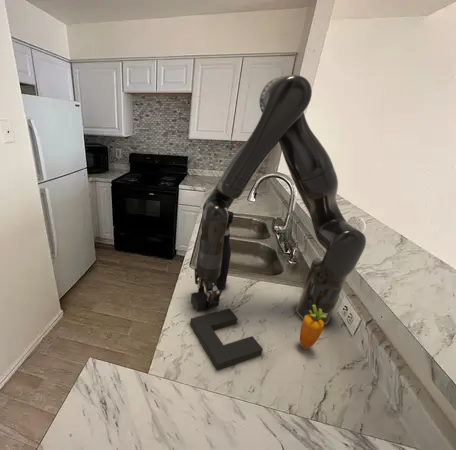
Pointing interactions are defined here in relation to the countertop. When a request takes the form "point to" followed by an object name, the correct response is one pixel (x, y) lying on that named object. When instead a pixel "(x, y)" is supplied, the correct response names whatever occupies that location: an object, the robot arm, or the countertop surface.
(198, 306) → the connector pad
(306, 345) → the carrot
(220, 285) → the wine bottle
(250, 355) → the base mat
